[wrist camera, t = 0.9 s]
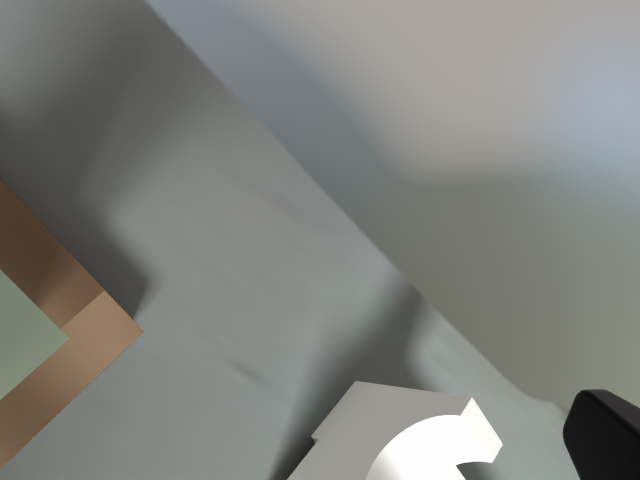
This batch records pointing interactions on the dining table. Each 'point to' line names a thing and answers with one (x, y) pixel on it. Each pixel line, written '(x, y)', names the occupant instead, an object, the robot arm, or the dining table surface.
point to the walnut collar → (65, 312)
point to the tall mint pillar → (23, 336)
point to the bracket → (398, 436)
